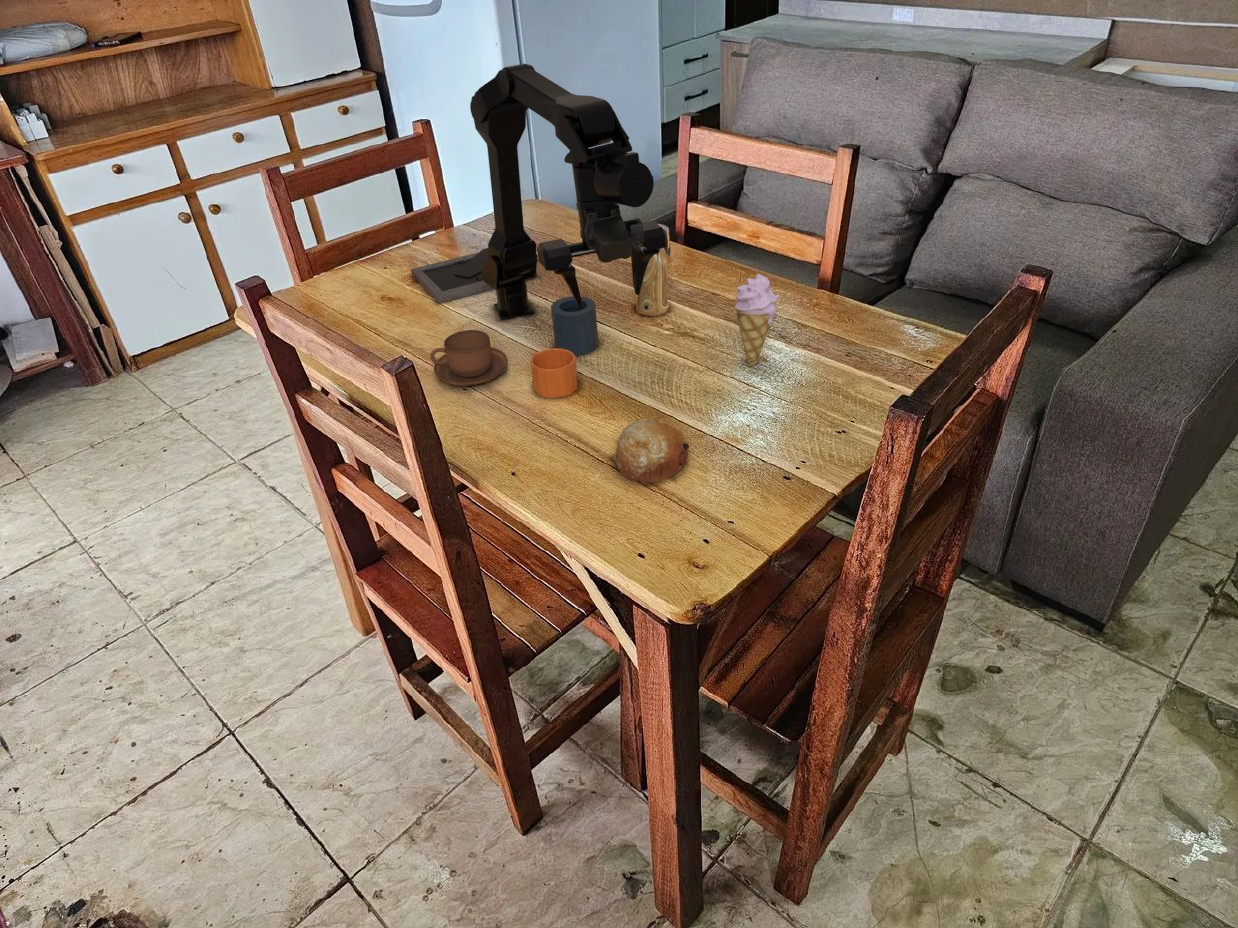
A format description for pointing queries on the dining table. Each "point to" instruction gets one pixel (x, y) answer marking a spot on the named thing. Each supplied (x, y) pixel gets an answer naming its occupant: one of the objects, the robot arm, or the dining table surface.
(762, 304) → the ice cream cone
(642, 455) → the bread roll
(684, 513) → the dining table surface
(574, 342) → the jar
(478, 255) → the picture frame
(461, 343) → the cup and saucer
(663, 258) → the beer glass
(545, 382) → the cup
